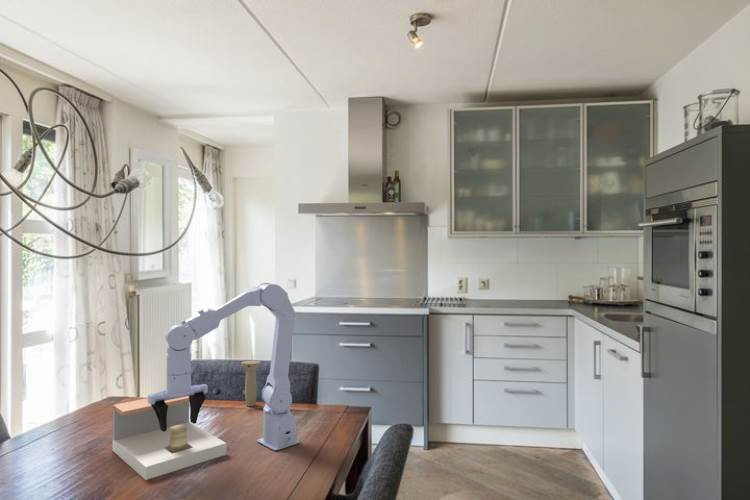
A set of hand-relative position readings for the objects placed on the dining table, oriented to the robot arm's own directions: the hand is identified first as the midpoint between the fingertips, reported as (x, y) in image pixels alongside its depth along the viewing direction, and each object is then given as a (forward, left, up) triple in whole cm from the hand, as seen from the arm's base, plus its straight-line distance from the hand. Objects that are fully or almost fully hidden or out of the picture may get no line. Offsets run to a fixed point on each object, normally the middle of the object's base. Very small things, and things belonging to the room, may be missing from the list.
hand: (178, 426), depth 120 cm
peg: (0, 0, -8) cm, 8 cm away
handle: (+26, -36, -9) cm, 45 cm away
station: (+6, 0, -8) cm, 10 cm away
